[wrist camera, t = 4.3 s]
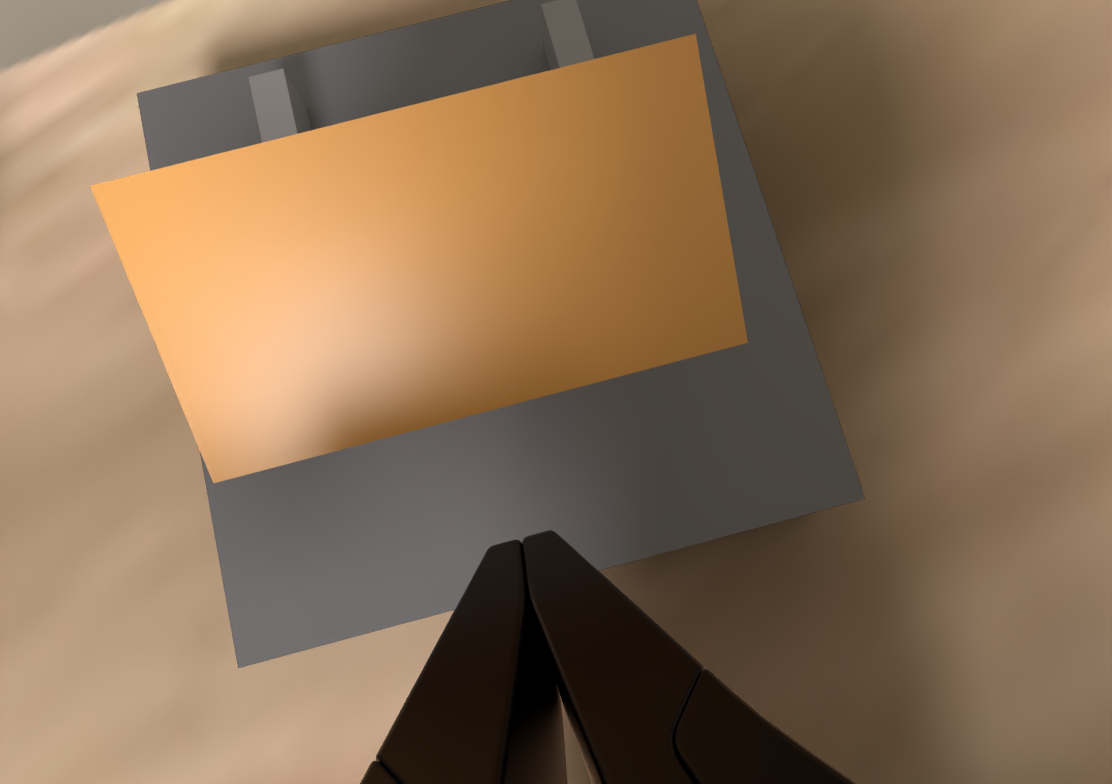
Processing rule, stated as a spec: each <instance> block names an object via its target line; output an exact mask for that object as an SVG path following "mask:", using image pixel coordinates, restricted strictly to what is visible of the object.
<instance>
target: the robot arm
mask: <svg viewBox="0 0 1112 784" xmlns="http://www.w3.org/2000/svg"><path fill="white" fill-rule="evenodd" d="M559 693H560V695H559ZM560 696H561V699H562V702H563V705H564V708H565V711H566V714H567V717H568V720H569V723H570V726H571V728H572V731H573V734H574V737H575V739H576V742H577V745H578V747H579V750H580V753H581V756H582V758H583V761H584V764H585V767H586V769H587V772H588V775H589V778H590V780H591V783H592V784H856V783H855V782H853V781H852V780H850V779H849V778H847V777H846V776H844V775H843V774H842V773H840V772H839V771H837V770H836V769H834V768H833V767H831V766H830V765H829V764H827V763H826V762H824V761H823V760H821V759H820V758H818V757H817V756H816V755H814V754H813V753H811V752H810V751H808V750H807V749H805V748H804V747H803V746H801V745H800V744H799V743H797V742H796V741H795V740H793V739H792V738H790V737H789V736H788V735H786V734H785V733H784V732H782V731H781V730H780V729H778V728H777V727H776V726H774V725H773V724H771V723H770V722H769V721H767V720H766V719H765V718H763V717H762V716H761V715H760V714H759V713H757V712H756V711H755V710H754V709H753V708H751V707H750V706H749V705H748V704H747V703H746V702H744V701H743V700H742V699H741V698H740V697H738V696H737V695H736V694H735V693H734V692H732V691H731V690H730V689H729V688H728V687H727V686H726V685H725V684H723V683H722V682H721V681H720V680H719V679H718V678H717V677H716V676H715V675H714V674H712V673H711V672H710V671H709V670H707V669H704V667H703V666H702V665H701V664H700V663H699V662H698V661H697V660H696V659H695V658H694V657H693V656H691V655H690V654H689V653H688V652H687V651H686V650H685V649H684V648H683V647H682V646H680V645H679V644H678V643H677V642H676V641H675V640H674V639H673V638H672V637H671V636H669V635H668V634H667V633H666V632H665V631H664V630H663V629H662V628H661V627H660V626H658V625H657V624H656V623H655V622H654V621H653V620H652V619H651V618H650V617H649V616H647V615H646V614H645V613H644V612H643V611H642V610H641V609H640V608H639V607H638V606H636V605H635V604H634V603H633V602H632V601H631V600H630V599H629V598H628V597H627V596H625V595H624V594H623V593H622V592H621V591H620V590H619V589H618V588H617V587H616V586H614V585H613V584H612V583H611V582H610V581H609V580H608V579H607V578H606V577H605V576H603V575H602V574H601V573H600V572H599V571H598V570H597V569H596V568H595V567H594V566H592V565H591V564H590V563H589V562H588V561H587V560H586V559H585V558H584V557H583V556H581V555H580V554H579V553H578V552H577V551H576V550H575V549H574V548H573V547H572V546H570V545H569V544H568V543H567V542H566V541H565V540H564V539H563V538H562V537H561V536H559V535H558V534H557V533H556V532H554V531H552V530H548V531H545V532H541V533H537V534H533V535H530V536H526V537H525V538H524V539H523V542H522V543H521V541H520V540H517V539H516V540H511V541H507V542H504V543H500V544H496V545H493V546H490V547H489V548H488V550H487V551H486V553H485V555H484V557H483V558H482V560H481V562H480V564H479V566H478V568H477V570H476V571H475V573H474V575H473V577H472V579H471V581H470V583H469V584H468V586H467V588H466V590H465V592H464V594H463V596H462V597H461V599H460V601H459V603H458V605H457V607H456V609H455V610H454V612H453V614H452V616H451V618H450V620H449V622H448V623H447V625H446V627H445V629H444V631H443V633H442V635H441V636H440V638H439V640H438V642H437V644H436V646H435V648H434V650H433V651H432V653H431V655H430V657H429V659H428V661H427V663H426V664H425V666H424V668H423V670H422V672H421V674H420V676H419V677H418V679H417V681H416V683H415V685H414V687H413V689H412V690H411V692H410V694H409V696H408V698H407V700H406V702H405V703H404V705H403V707H402V709H401V711H400V713H399V715H398V716H397V718H396V720H395V722H394V724H393V726H392V728H391V729H390V731H389V733H388V735H387V737H386V739H385V741H384V742H383V744H382V746H381V748H380V750H379V752H378V754H377V755H376V761H373V762H372V763H371V764H370V766H369V768H368V770H367V772H366V774H365V775H364V777H363V779H362V781H361V783H360V784H567V771H566V757H565V744H564V731H563V718H562V709H561V701H560Z"/></svg>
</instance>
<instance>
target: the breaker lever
mask: <svg viewBox="0 0 1112 784" xmlns="http://www.w3.org/2000/svg"><path fill="white" fill-rule="evenodd" d="M91 189H92V191H93V194H94V196H95V199H96V201H97V203H98V206H99V208H100V211H101V213H102V215H103V218H104V220H105V223H106V225H107V228H108V230H109V232H110V235H111V237H112V240H113V242H114V244H115V247H116V249H117V252H118V254H119V257H120V259H121V261H122V264H123V266H124V269H125V271H126V273H127V276H128V278H129V281H130V283H131V286H132V288H133V290H134V293H135V295H136V298H137V300H138V302H139V305H140V307H141V310H142V312H143V314H144V317H145V319H146V322H147V324H148V327H149V329H150V331H151V334H152V336H153V339H154V341H155V343H156V346H157V348H158V351H159V353H160V356H161V358H162V360H163V363H164V365H165V368H166V370H167V372H168V375H169V377H170V380H171V382H172V385H173V387H174V389H175V392H176V394H177V397H178V399H179V401H180V404H181V406H182V409H183V411H184V414H185V416H186V418H187V421H188V423H189V426H190V428H191V430H192V433H193V435H194V438H195V440H196V442H197V445H198V447H199V450H200V452H201V455H202V457H203V459H204V462H205V464H206V467H207V469H208V471H209V474H210V476H211V479H212V481H213V483H217V482H221V481H225V480H228V479H232V478H236V477H240V476H244V475H247V474H251V473H255V472H259V471H263V470H266V469H270V468H274V467H278V466H282V465H285V464H289V463H293V462H297V461H301V460H304V459H308V458H312V457H316V456H320V455H323V454H327V453H331V452H335V451H339V450H342V449H346V448H350V447H354V446H358V445H361V444H365V443H369V442H373V441H377V440H380V439H384V438H388V437H392V436H395V435H399V434H403V433H407V432H411V431H414V430H418V429H422V428H426V427H430V426H433V425H437V424H441V423H445V422H449V421H452V420H456V419H460V418H464V417H468V416H471V415H475V414H479V413H483V412H487V411H490V410H494V409H498V408H502V407H506V406H509V405H513V404H517V403H521V402H525V401H528V400H532V399H536V398H540V397H544V396H547V395H551V394H555V393H559V392H563V391H566V390H570V389H574V388H578V387H582V386H585V385H589V384H593V383H597V382H601V381H604V380H608V379H612V378H616V377H620V376H623V375H627V374H631V373H635V372H639V371H642V370H646V369H650V368H654V367H657V366H661V365H665V364H669V363H673V362H676V361H680V360H684V359H688V358H692V357H695V356H699V355H703V354H707V353H711V352H714V351H718V350H722V349H726V348H730V347H733V346H737V345H741V344H745V343H748V340H747V334H746V328H745V322H744V316H743V311H742V305H741V299H740V293H739V287H738V281H737V275H736V269H735V263H734V257H733V251H732V245H731V240H730V234H729V228H728V222H727V216H726V210H725V204H724V198H723V192H722V186H721V180H720V174H719V169H718V163H717V157H716V151H715V145H714V139H713V133H712V127H711V121H710V115H709V109H708V103H707V98H706V92H705V86H704V80H703V74H702V68H701V62H700V56H699V50H698V44H697V38H696V34H692V35H688V36H684V37H681V38H677V39H673V40H669V41H665V42H661V43H657V44H653V45H649V46H645V47H641V48H637V49H633V50H629V51H625V52H621V53H617V54H613V55H609V56H605V57H601V58H597V59H593V60H589V61H585V62H581V63H577V64H573V65H569V66H565V67H561V68H557V69H553V70H549V71H545V72H541V73H537V74H533V75H529V76H525V77H522V78H518V79H514V80H510V81H506V82H502V83H498V84H494V85H490V86H486V87H482V88H478V89H474V90H470V91H466V92H462V93H458V94H454V95H450V96H446V97H442V98H438V99H434V100H430V101H426V102H422V103H418V104H414V105H410V106H406V107H402V108H398V109H394V110H390V111H386V112H382V113H378V114H374V115H370V116H366V117H362V118H359V119H355V120H351V121H347V122H343V123H339V124H335V125H331V126H327V127H323V128H319V129H315V130H311V131H307V132H303V133H299V134H295V135H291V136H287V137H283V138H279V139H275V140H271V141H267V142H263V143H259V144H255V145H251V146H247V147H243V148H239V149H235V150H231V151H227V152H223V153H219V154H215V155H211V156H207V157H203V158H199V159H196V160H192V161H188V162H184V163H180V164H176V165H172V166H168V167H164V168H160V169H156V170H152V171H148V172H144V173H140V174H136V175H132V176H128V177H124V178H120V179H116V180H112V181H108V182H104V183H100V184H96V185H92V186H91Z"/></svg>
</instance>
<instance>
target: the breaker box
mask: <svg viewBox="0 0 1112 784" xmlns="http://www.w3.org/2000/svg"><path fill="white" fill-rule="evenodd" d="M692 34H696V38H697V44H698V50H699V56H700V62H701V68H702V74H703V80H704V86H705V92H706V98H707V103H708V109H709V115H710V121H711V127H712V133H713V139H714V145H715V151H716V157H717V163H718V169H719V174H720V180H721V186H722V192H723V198H724V204H725V210H726V216H727V222H728V228H729V234H730V240H731V245H732V251H733V257H734V263H735V269H736V275H737V281H738V287H739V293H740V299H741V305H742V311H743V316H744V322H745V328H746V334H747V340H748V343H745V344H741V345H737V346H733V347H730V348H726V349H722V350H718V351H714V352H711V353H707V354H703V355H699V356H695V357H692V358H688V359H684V360H680V361H676V362H673V363H669V364H665V365H661V366H657V367H654V368H650V369H646V370H642V371H639V372H635V373H631V374H627V375H623V376H620V377H616V378H612V379H608V380H604V381H601V382H597V383H593V384H589V385H585V386H582V387H578V388H574V389H570V390H566V391H563V392H559V393H555V394H551V395H547V396H544V397H540V398H536V399H532V400H528V401H525V402H521V403H517V404H513V405H509V406H506V407H502V408H498V409H494V410H490V411H487V412H483V413H479V414H475V415H471V416H468V417H464V418H460V419H456V420H452V421H449V422H445V423H441V424H437V425H433V426H430V427H426V428H422V429H418V430H414V431H411V432H407V433H403V434H399V435H395V436H392V437H388V438H384V439H380V440H377V441H373V442H369V443H365V444H361V445H358V446H354V447H350V448H346V449H342V450H339V451H335V452H331V453H327V454H323V455H320V456H316V457H312V458H308V459H304V460H301V461H297V462H293V463H289V464H285V465H282V466H278V467H274V468H270V469H266V470H263V471H259V472H255V473H251V474H247V475H244V476H240V477H236V478H232V479H228V480H225V481H221V482H217V483H213V481H212V479H211V476H210V474H209V471H208V469H207V467H206V464H205V462H204V459H203V457H202V455H201V452H200V455H201V460H202V466H203V472H204V477H205V483H206V489H207V494H208V500H209V506H210V511H211V517H212V523H213V528H214V534H215V540H216V545H217V551H218V557H219V562H220V568H221V574H222V579H223V585H224V591H225V596H226V602H227V608H228V613H229V619H230V625H231V630H232V636H233V642H234V647H235V653H236V659H237V664H238V668H241V667H244V666H248V665H252V664H256V663H259V662H263V661H267V660H270V659H274V658H278V657H281V656H285V655H289V654H293V653H296V652H300V651H304V650H307V649H311V648H315V647H318V646H322V645H326V644H330V643H333V642H337V641H341V640H344V639H348V638H352V637H355V636H359V635H363V634H367V633H370V632H374V631H378V630H381V629H385V628H389V627H392V626H396V625H400V624H404V623H407V622H411V621H415V620H418V619H422V618H426V617H429V616H433V615H437V614H441V613H444V612H448V611H452V610H455V609H456V607H457V605H458V603H459V601H460V599H461V597H462V596H463V594H464V592H465V590H466V588H467V586H468V584H469V583H470V581H471V579H472V577H473V575H474V573H475V571H476V570H477V568H478V566H479V564H480V562H481V560H482V558H483V557H484V555H485V553H486V551H487V550H488V548H489V547H490V546H493V545H496V544H500V543H504V542H507V541H511V540H516V539H517V540H520V541H521V543H522V542H523V539H524V538H525V537H526V536H530V535H533V534H537V533H541V532H545V531H548V530H552V531H554V532H556V533H557V534H558V535H559V536H561V537H562V538H563V539H564V540H565V541H566V542H567V543H568V544H569V545H570V546H572V547H573V548H574V549H575V550H576V551H577V552H578V553H579V554H580V555H581V556H583V557H584V558H585V559H586V560H587V561H588V562H589V563H590V564H591V565H592V566H594V567H595V568H596V569H597V570H598V571H600V570H603V569H607V568H611V567H614V566H618V565H622V564H626V563H629V562H633V561H637V560H640V559H644V558H648V557H652V556H655V555H659V554H663V553H666V552H670V551H674V550H677V549H681V548H685V547H689V546H692V545H696V544H700V543H703V542H707V541H711V540H714V539H718V538H722V537H726V536H729V535H733V534H737V533H740V532H744V531H748V530H751V529H755V528H759V527H763V526H766V525H770V524H774V523H777V522H781V521H785V520H788V519H792V518H796V517H800V516H803V515H807V514H811V513H814V512H818V511H822V510H825V509H829V508H833V507H837V506H840V505H844V504H848V503H851V502H855V501H859V500H862V499H865V496H864V493H863V490H862V487H861V485H860V482H859V479H858V476H857V473H856V470H855V467H854V464H853V461H852V458H851V455H850V452H849V449H848V446H847V443H846V440H845V437H844V434H843V431H842V428H841V425H840V422H839V419H838V417H837V414H836V411H835V408H834V405H833V402H832V399H831V396H830V393H829V390H828V387H827V384H826V381H825V378H824V375H823V372H822V369H821V366H820V363H819V360H818V357H817V354H816V352H815V349H814V346H813V343H812V340H811V337H810V334H809V331H808V328H807V325H806V322H805V319H804V316H803V313H802V310H801V307H800V304H799V301H798V298H797V295H796V292H795V289H794V286H793V284H792V281H791V278H790V275H789V272H788V269H787V266H786V263H785V260H784V257H783V254H782V251H781V248H780V245H779V242H778V239H777V236H776V233H775V230H774V227H773V224H772V221H771V218H770V216H769V213H768V210H767V207H766V204H765V201H764V198H763V195H762V192H761V189H760V186H759V183H758V180H757V177H756V174H755V171H754V168H753V165H752V162H751V159H750V156H749V153H748V151H747V148H746V145H745V142H744V139H743V136H742V133H741V130H740V127H739V124H738V121H737V118H736V115H735V112H734V109H733V106H732V103H731V100H730V97H729V94H728V91H727V88H726V85H725V83H724V80H723V77H722V74H721V71H720V68H719V65H718V62H717V59H716V56H715V53H714V50H713V47H712V44H711V41H710V38H709V35H708V32H707V29H706V26H705V23H704V20H703V18H702V15H701V12H700V9H699V6H698V3H697V0H510V1H506V2H502V3H498V4H494V5H490V6H486V7H482V8H478V9H474V10H470V11H466V12H462V13H458V14H454V15H450V16H446V17H442V18H438V19H434V20H430V21H426V22H422V23H418V24H414V25H409V26H405V27H401V28H397V29H393V30H389V31H385V32H381V33H377V34H373V35H369V36H365V37H361V38H357V39H353V40H349V41H345V42H341V43H337V44H333V45H329V46H325V47H321V48H317V49H313V50H309V51H305V52H301V53H297V54H293V55H289V56H285V57H281V58H277V59H273V60H269V61H265V62H261V63H257V64H253V65H249V66H245V67H241V68H237V69H233V70H229V71H224V72H220V73H216V74H212V75H208V76H204V77H200V78H196V79H192V80H188V81H184V82H180V83H176V84H172V85H168V86H164V87H160V88H156V89H152V90H148V91H144V92H140V93H137V97H138V103H139V109H140V114H141V120H142V126H143V131H144V137H145V143H146V148H147V154H148V160H149V165H150V171H152V170H156V169H160V168H164V167H168V166H172V165H176V164H180V163H184V162H188V161H192V160H196V159H199V158H203V157H207V156H211V155H215V154H219V153H223V152H227V151H231V150H235V149H239V148H243V147H247V146H251V145H255V144H259V143H263V142H267V141H271V140H275V139H279V138H283V137H287V136H291V135H295V134H299V133H303V132H307V131H311V130H315V129H319V128H323V127H327V126H331V125H335V124H339V123H343V122H347V121H351V120H355V119H359V118H362V117H366V116H370V115H374V114H378V113H382V112H386V111H390V110H394V109H398V108H402V107H406V106H410V105H414V104H418V103H422V102H426V101H430V100H434V99H438V98H442V97H446V96H450V95H454V94H458V93H462V92H466V91H470V90H474V89H478V88H482V87H486V86H490V85H494V84H498V83H502V82H506V81H510V80H514V79H518V78H522V77H525V76H529V75H533V74H537V73H541V72H545V71H549V70H553V69H557V68H561V67H565V66H569V65H573V64H577V63H581V62H585V61H589V60H593V59H597V58H601V57H605V56H609V55H613V54H617V53H621V52H625V51H629V50H633V49H637V48H641V47H645V46H649V45H653V44H657V43H661V42H665V41H669V40H673V39H677V38H681V37H684V36H688V35H692Z"/></svg>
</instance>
